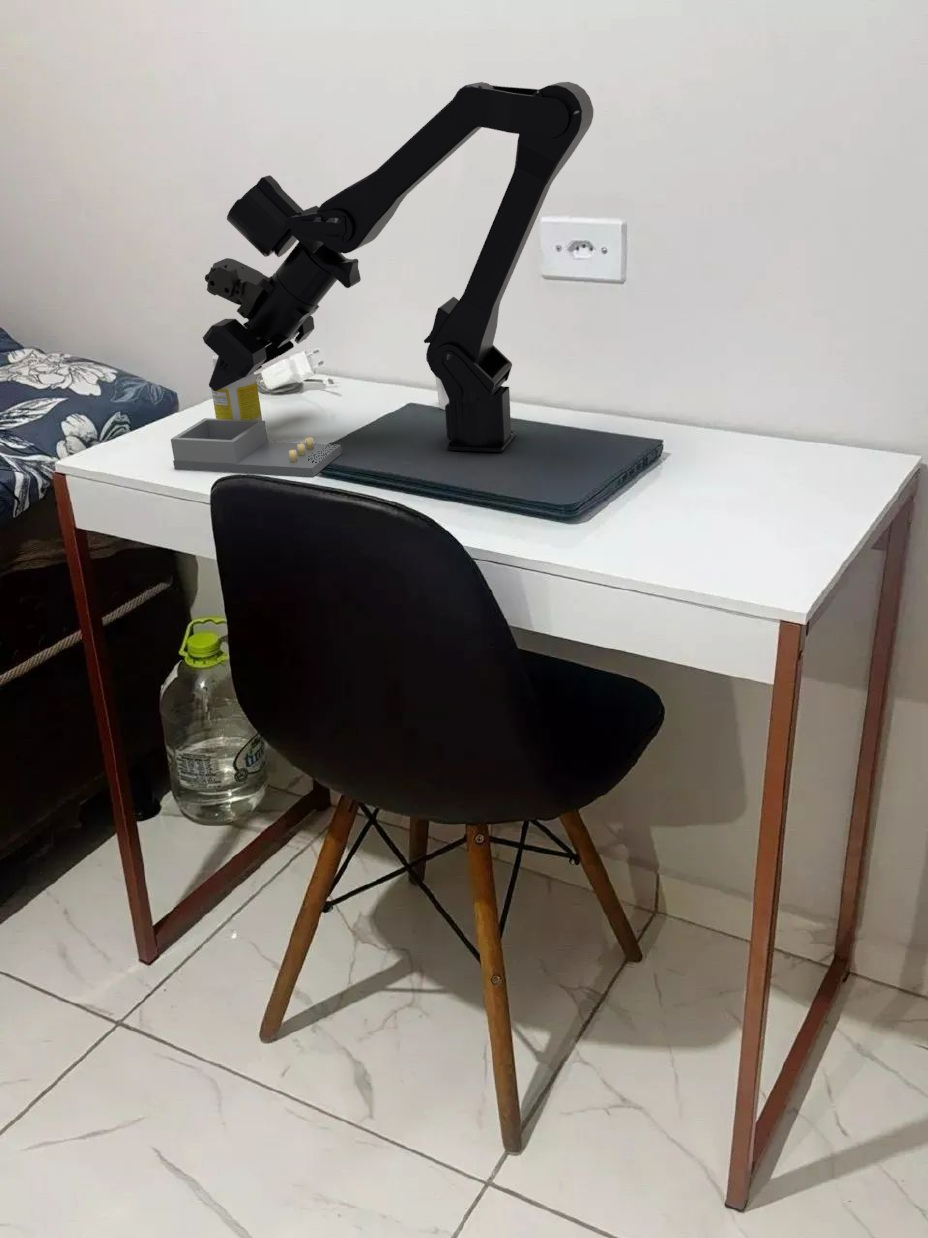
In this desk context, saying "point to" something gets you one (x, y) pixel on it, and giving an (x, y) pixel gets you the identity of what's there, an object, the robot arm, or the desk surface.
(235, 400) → the supplement bottle
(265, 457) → the grey organizer tray
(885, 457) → the desk surface
